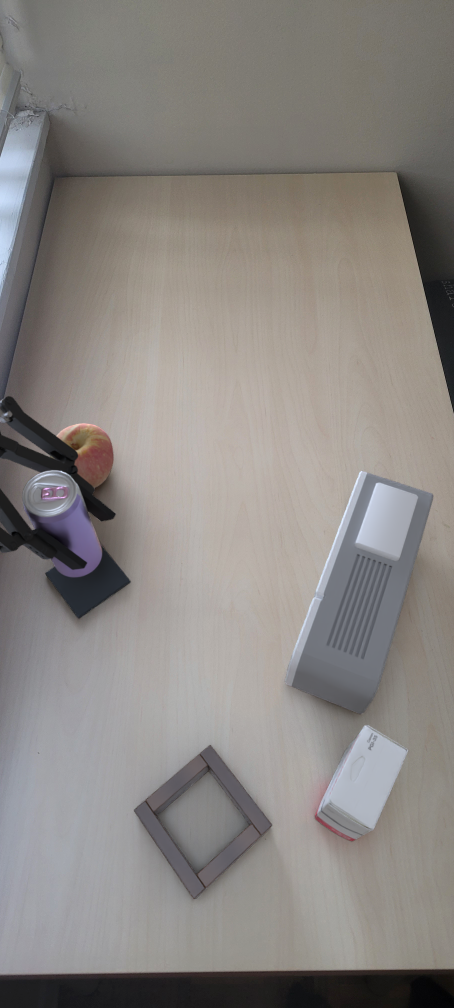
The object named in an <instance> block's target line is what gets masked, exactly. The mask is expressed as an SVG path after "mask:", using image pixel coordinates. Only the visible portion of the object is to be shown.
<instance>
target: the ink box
mask: <svg viewBox="0 0 454 1008" xmlns="http://www.w3.org/2000/svg"><path fill="white" fill-rule="evenodd" d="M408 753H409V749H408V748H406V747H405V746H403V745H401V744H400V743H399V742H397V741H396V740H394V739H393V738H390V737H389V736H387V735H385V734H384V733H382V732H381V731H379V730H377V729H376V728H374V727H372V726H370V725H369V724H365V725H364V726H363V727H362V729H361V730H360V731H359V733H357V735H356V736H355V738H354V739H353V740H352V741H351V742H350V743H349V745H348V746H347V747H346V748H345V751H344V752H343V755H342V756H341V759H340V761H339V763H338V765H337V767H336V770H335V771H334V773H333V776H332V778H331V780H330V782H329V784H328V786H327V788H326V790H325V792H324V794H323V796H322V799H321V801H320V803H319V806H318V807H317V809H316V812H315V814H314V819H315V821H317V822H318V823H319V824H320V825H322V826H324V827H325V828H327V829H328V830H329V831H331V832H332V833H334V834H335V835H337V836H339V837H341V838H343V839H345V840H347V841H350V842H354V841H356V840H358V839H359V838H360V839H361V838H362V837H363V836H365V835H367V834H368V833H370V832H372V831H374V830H375V828H376V826H377V824H378V821H379V819H380V817H381V815H382V813H383V810H384V808H385V805H386V803H387V801H388V799H389V796H390V794H391V792H392V789H393V787H394V785H395V783H396V781H397V779H398V776H399V774H400V771H401V769H402V767H403V764H404V762H405V759H406V758H407V755H408Z"/></svg>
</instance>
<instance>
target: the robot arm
mask: <svg viewBox="0 0 454 1008" xmlns="http://www.w3.org/2000/svg"><path fill="white" fill-rule="evenodd" d="M0 423H3V424H7V425H8V426H9V427H10V428H11V429H12V430H14V431H15V432H17V433H18V434H19V435H21V436H22V437H23V438H24V439H26V440H28V441H29V442H30V443H31V444H33V445H34V446H36V447H37V448H39V450H42V451H44V453H46V454H47V455H46V454H44V453H42V452H39V451H37V450H34V449H32V448H29V447H27V446H24V445H22V444H20V443H19V442H18V441H17V440H15V439H12V438H10V437H8V436H5V435H2V432H1V431H0V459H3V460H8V461H11V462H13V463H15V464H18V465H20V466H24V467H26V468H28V469H31V470H33V471H35V472H38V473H41V472H44V471H50V470H57V471H62V472H64V473H66V474H68V475H69V476H71V477H72V478H73V480H74V481H75V482H76V483H77V485H78V486H79V489H80V491H81V494H82V497H83V499H84V502H85V505H86V507H87V510H88V513H89V514H90V515H92V516H93V518H96V519H97V520H98V521H99V522H106V521H111V520H114V519H115V517H116V515H117V513H116V512H115V511H113V510H112V509H111V508H110V507H109V506H107V505H106V504H105V503H104V502H102V501H101V500H100V499H99V498H97V497H96V496H95V495H94V493H95V492H96V489H95V488H94V487H93V486H92V485H91V484H90V483H89V482H87V481H86V480H85V479H84V478H82V477H81V476H80V475H79V474H77V472H78V468H77V466H75V465H74V464H75V460H76V459H77V458H78V453H77V451H76V450H74V449H73V448H72V447H70V446H69V445H67V444H66V443H65V442H63V441H62V440H61V439H59V438H58V437H57V435H55V434H54V433H53V432H52V431H50V430H49V429H47V428H46V427H44V426H43V425H42V424H40V423H39V422H38V421H37V420H35V419H34V418H33V417H31V416H30V415H28V414H27V413H25V412H24V410H23V409H22V407H21V406H20V405H19V404H18V402H17V401H16V399H15V398H14V397H13V396H10V395H7V396H5V397H4V398H2V399H1V400H0ZM50 456H51V457H53V458H54V459H53V458H51V457H50ZM0 524H1V525H2V527H1V526H0V553H2V554H6V553H11V552H15V551H17V550H19V548H20V547H21V546H24V547H25V548H27V550H29V551H31V552H32V553H33V554H35V555H36V556H38V557H39V558H41V559H42V560H46V561H47V560H51V559H53V557H55V558H57V559H58V560H59V561H61V562H62V563H64V564H65V565H66V566H68V567H69V568H70V569H72V570H76V569H84V568H85V566H86V565H87V562H86V561H85V560H83V559H82V558H81V557H79V556H78V555H76V554H75V553H74V552H72V551H71V550H70V549H68V548H67V547H66V546H64V545H63V544H62V543H60V542H59V541H58V540H56V539H55V538H53V537H52V536H51V535H49V534H48V533H47V532H45V531H44V530H42V529H41V528H38V529H34V528H33V529H32V528H31V527H30V525H28V523H27V521H26V520H25V519H24V518H23V516H22V515H21V514H20V513H19V511H18V509H16V507H15V506H14V505H13V503H12V502H11V500H10V499H9V498H8V496H7V495H6V494H5V492H4V491H3V490H2V489H1V488H0Z"/></svg>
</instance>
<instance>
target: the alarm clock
mask: <svg viewBox="0 0 454 1008" xmlns="http://www.w3.org/2000/svg"><path fill="white" fill-rule="evenodd" d="M433 501H434V494H433V493H432V492H429V491H427V490H423V489H419V488H416V487H413V486H410V485H407V484H404V483H401V482H398V481H395V480H392V479H389V478H386V477H382V476H381V475H376V474H373V473H370V472H367V471H363V470H361V471H359V473H358V475H357V478H356V481H355V483H354V486H353V489H352V491H351V494H350V496H349V499H348V501H347V505H346V507H345V510H344V513H343V516H342V518H341V521H340V524H339V526H338V529H337V533H336V535H335V538H334V540H333V543H332V546H331V548H330V551H329V553H328V556H327V559H326V562H325V565H324V567H323V570H322V572H321V575H320V578H319V581H318V583H317V586H316V589H315V592H314V594H313V598H312V599H311V602H310V605H309V608H308V610H307V613H306V616H305V619H304V621H303V624H302V627H301V629H300V632H299V635H298V637H297V640H296V643H295V646H294V648H293V651H292V654H291V657H290V660H289V663H288V667H287V669H286V670H287V671H286V674H285V679H284V683H285V685H287V686H289V687H291V688H295V689H296V690H299V691H301V692H304V693H307V694H309V695H312V696H314V697H317V698H319V699H321V700H323V701H326V702H328V703H331V704H334V705H336V706H339V707H340V708H343V709H346V710H349V711H351V712H354V713H356V714H359V715H362V714H364V713H365V712H366V711H367V709H368V708H369V706H370V705H371V704H372V702H373V701H374V698H375V697H376V695H377V692H378V689H379V686H380V684H381V681H382V677H383V675H384V670H385V667H386V663H387V661H388V657H389V653H390V651H391V646H392V644H393V640H394V637H395V636H394V635H395V633H396V629H397V626H398V623H399V620H400V619H399V618H400V615H401V612H402V609H403V604H404V602H405V599H406V594H407V592H408V587H409V584H410V581H411V577H412V574H413V571H414V567H415V563H416V559H417V557H418V553H419V550H420V546H421V543H422V541H423V540H422V539H423V536H424V532H425V529H426V527H427V522H428V518H429V515H430V511H431V509H432V506H433V505H432V504H433Z"/></svg>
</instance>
